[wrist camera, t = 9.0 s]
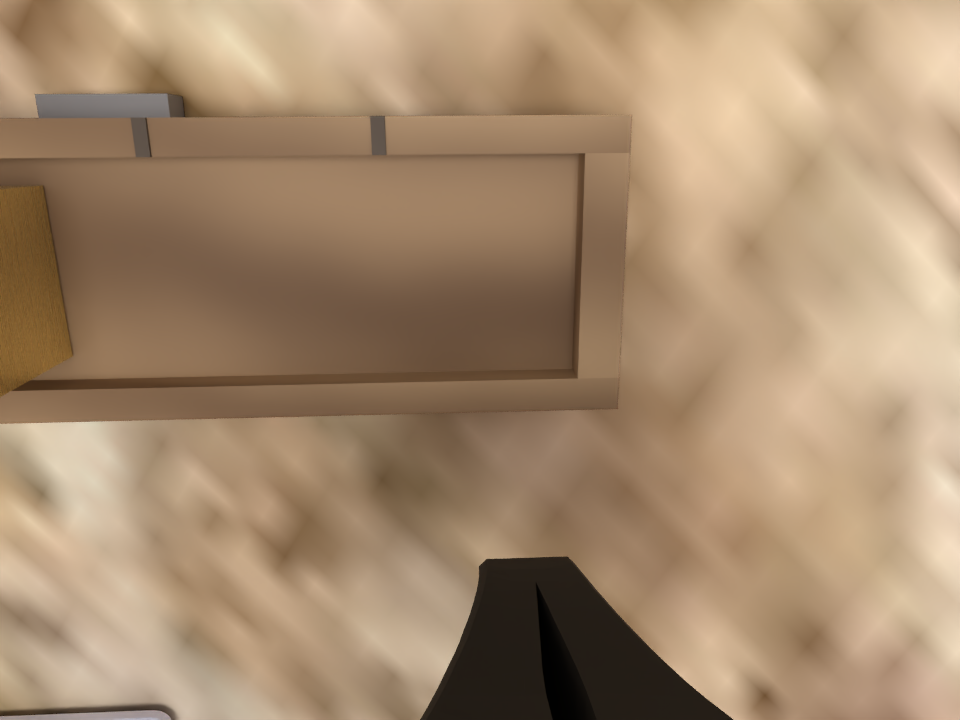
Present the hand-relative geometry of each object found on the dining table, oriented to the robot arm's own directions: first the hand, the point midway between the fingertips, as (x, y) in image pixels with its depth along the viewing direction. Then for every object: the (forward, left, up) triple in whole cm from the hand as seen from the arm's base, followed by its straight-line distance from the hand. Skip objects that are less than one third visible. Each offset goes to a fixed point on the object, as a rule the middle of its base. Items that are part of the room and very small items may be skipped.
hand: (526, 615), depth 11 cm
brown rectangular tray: (+4, +9, -10) cm, 14 cm away
